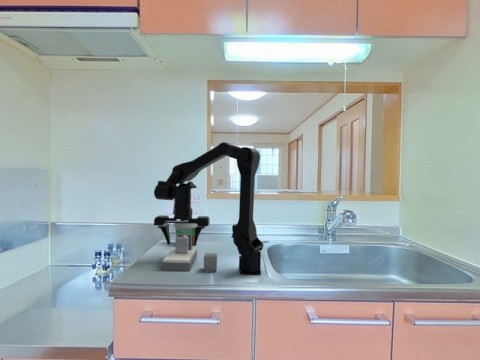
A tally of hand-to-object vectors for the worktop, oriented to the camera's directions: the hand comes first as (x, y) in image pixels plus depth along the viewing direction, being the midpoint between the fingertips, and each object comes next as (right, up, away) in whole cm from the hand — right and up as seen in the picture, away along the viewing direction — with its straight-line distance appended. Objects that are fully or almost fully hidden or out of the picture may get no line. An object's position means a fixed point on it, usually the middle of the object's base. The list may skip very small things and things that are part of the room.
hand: (182, 245), depth 114 cm
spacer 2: (+11, -6, -9) cm, 15 cm away
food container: (-4, -5, +25) cm, 26 cm away
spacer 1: (0, -3, 0) cm, 3 cm away
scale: (0, -6, -3) cm, 7 cm away
